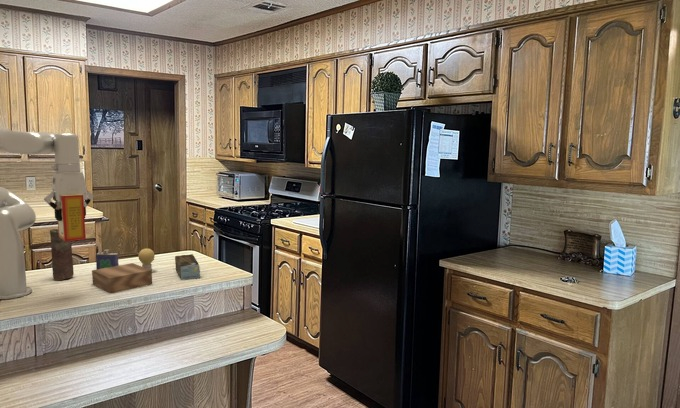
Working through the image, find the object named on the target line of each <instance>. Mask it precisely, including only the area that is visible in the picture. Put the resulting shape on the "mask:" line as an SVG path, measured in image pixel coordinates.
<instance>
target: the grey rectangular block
mask: <svg viewBox="0 0 680 408" xmlns="http://www.w3.org/2000/svg"><path fill="white" fill-rule="evenodd" d="M174 260H175V261H174V262H175V264H174V265H175V270H176V272H177V274H178V275H177V276H179V279H180V280H181V281H185V280H195V279H200V278H201V276H200V274H201V273H200V272H201V271H200V263H199V262H198V260H197V258H196V257H195V256H194V254H192V253H190V254H182V255H175V257H174Z"/></svg>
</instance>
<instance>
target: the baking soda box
mask: <svg viewBox="0 0 680 408" xmlns="http://www.w3.org/2000/svg"><path fill="white" fill-rule="evenodd" d="M61 200H62V202H61V207H60V209H61V213H62V221H57V227H58V228H57V229H58V232H59V238H61V239H62V240H64V241H71V242H72V241H73V242H74V241H80V240H86V238H87V237H86V222H85V221H86V217H85V218H84V201H85V200H83V195H82V194H76V195H64V196H61Z"/></svg>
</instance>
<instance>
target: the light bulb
mask: <svg viewBox="0 0 680 408" xmlns="http://www.w3.org/2000/svg"><path fill="white" fill-rule="evenodd" d="M154 259H155V252H154V250H152V249H151V248H142V249H141V250H140V251H139V252H138V260H139V261H140V263H141V266H142V267H145V268H147V269H150V270H153V269H152V268H153V267H152V263H153V262H154Z"/></svg>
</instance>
